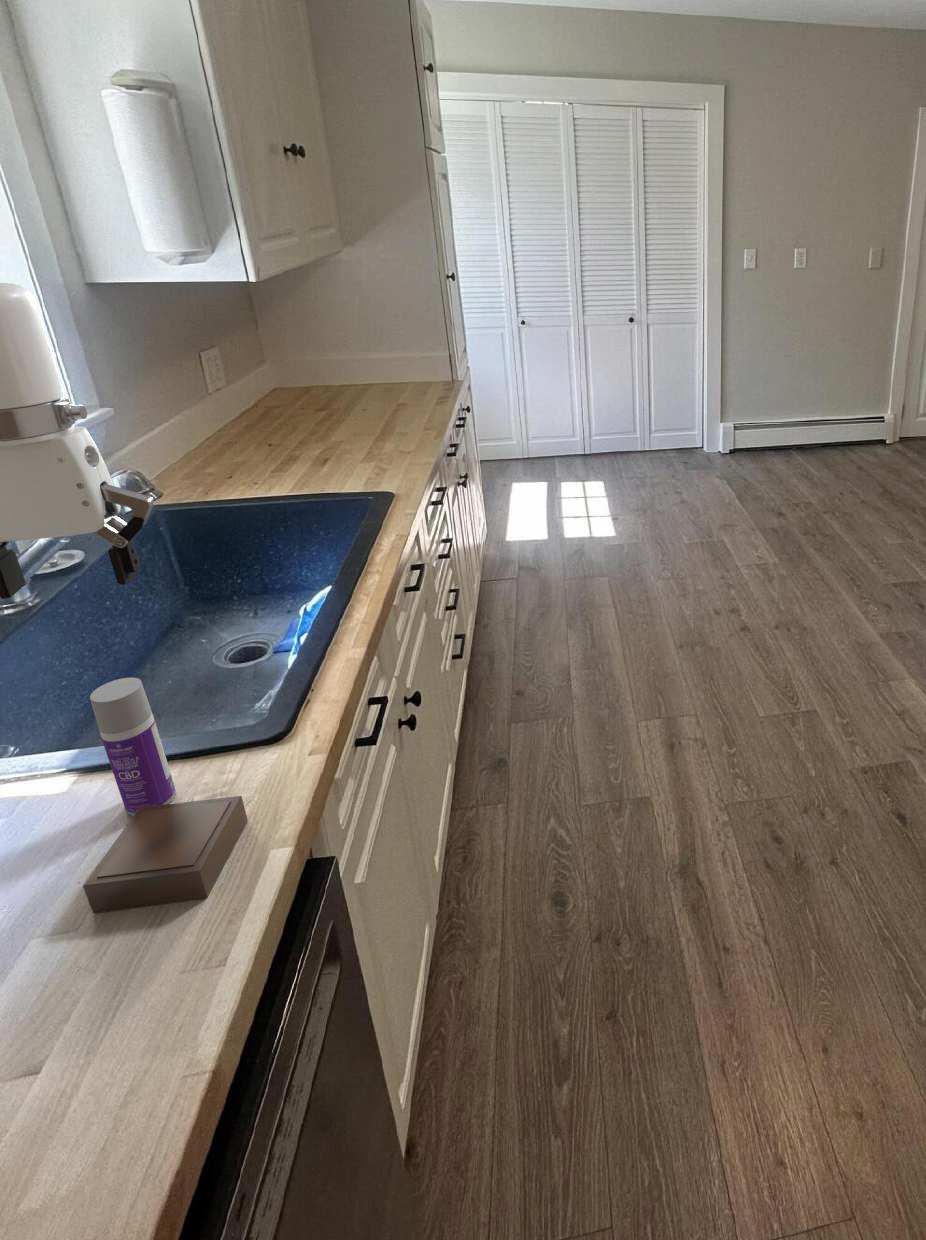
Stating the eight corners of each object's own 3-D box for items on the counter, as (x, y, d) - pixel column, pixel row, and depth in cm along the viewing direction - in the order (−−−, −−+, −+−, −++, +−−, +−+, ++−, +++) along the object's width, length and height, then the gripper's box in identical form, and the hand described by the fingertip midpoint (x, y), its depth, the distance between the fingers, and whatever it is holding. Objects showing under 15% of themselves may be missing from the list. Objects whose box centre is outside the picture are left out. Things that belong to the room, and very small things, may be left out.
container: (127, 823, 80) (88, 708, 75) (124, 798, 84) (87, 687, 79) (178, 803, 83) (144, 691, 78) (173, 780, 87) (141, 671, 82)
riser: (92, 913, 70) (81, 885, 69) (147, 832, 79) (139, 806, 78) (207, 898, 72) (198, 870, 70) (248, 820, 81) (241, 794, 80)
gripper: (142, 405, 74) (183, 558, 80) (-72, 418, 69) (-12, 580, 75) (111, 424, 67) (158, 590, 73) (-129, 440, 62) (-58, 616, 68)
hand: (72, 585), depth 74 cm, fingers open, 9 cm apart
